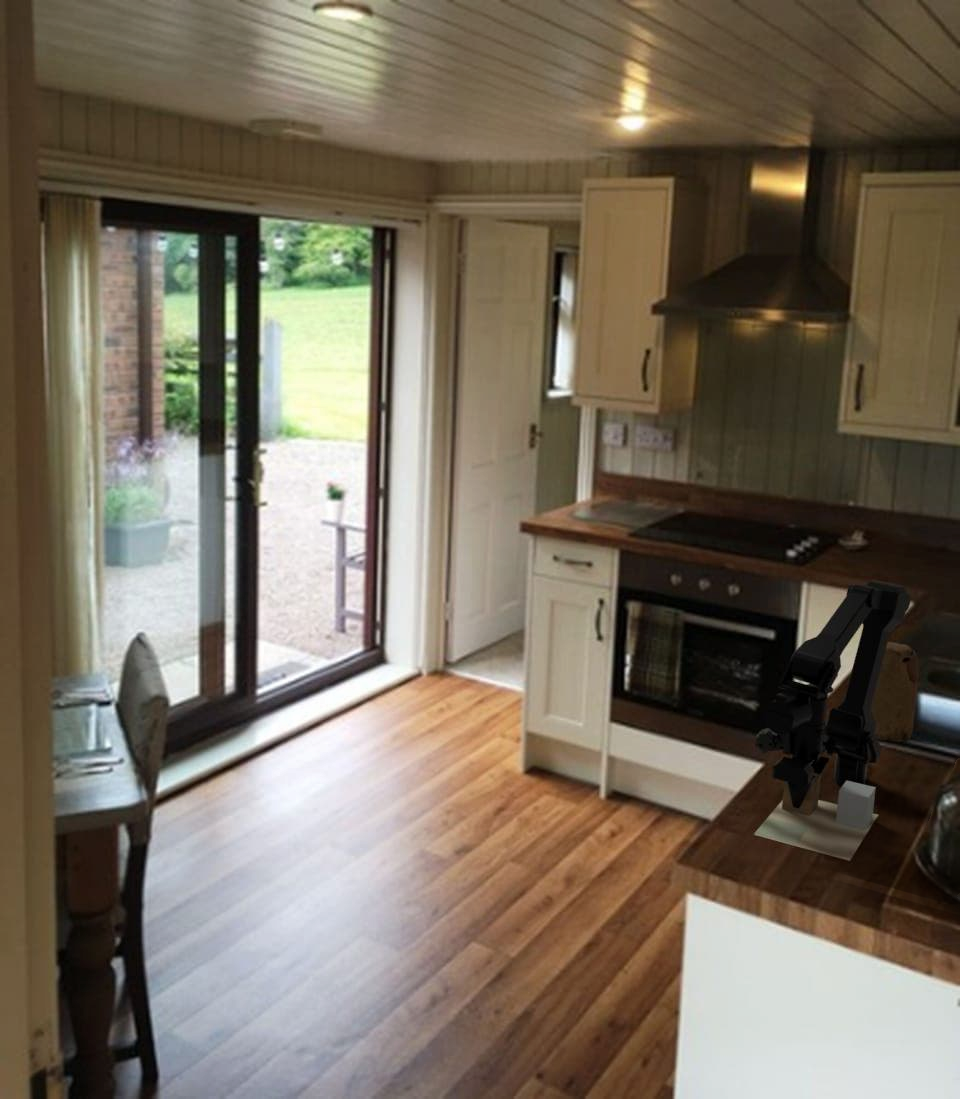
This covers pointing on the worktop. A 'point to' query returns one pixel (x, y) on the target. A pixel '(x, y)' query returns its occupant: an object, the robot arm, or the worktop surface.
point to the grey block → (855, 805)
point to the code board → (814, 830)
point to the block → (896, 694)
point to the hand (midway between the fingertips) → (800, 802)
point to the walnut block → (809, 800)
